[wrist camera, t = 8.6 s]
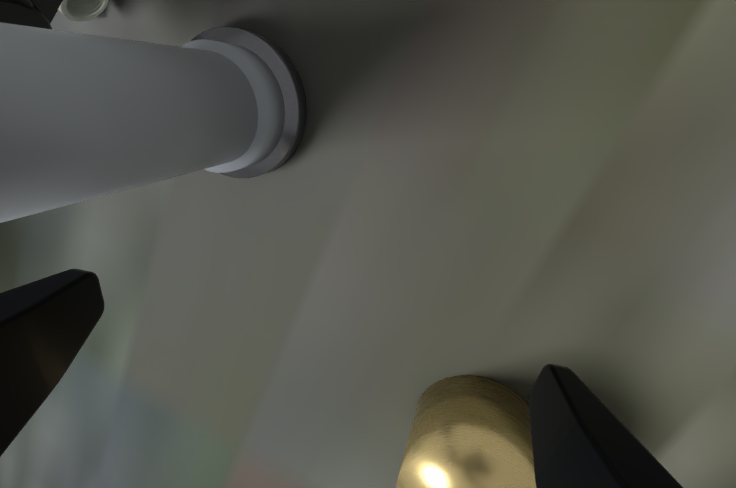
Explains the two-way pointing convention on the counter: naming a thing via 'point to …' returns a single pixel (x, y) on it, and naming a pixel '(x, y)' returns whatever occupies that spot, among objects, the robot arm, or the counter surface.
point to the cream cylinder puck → (469, 437)
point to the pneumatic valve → (48, 11)
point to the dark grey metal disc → (289, 88)
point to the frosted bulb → (124, 114)
